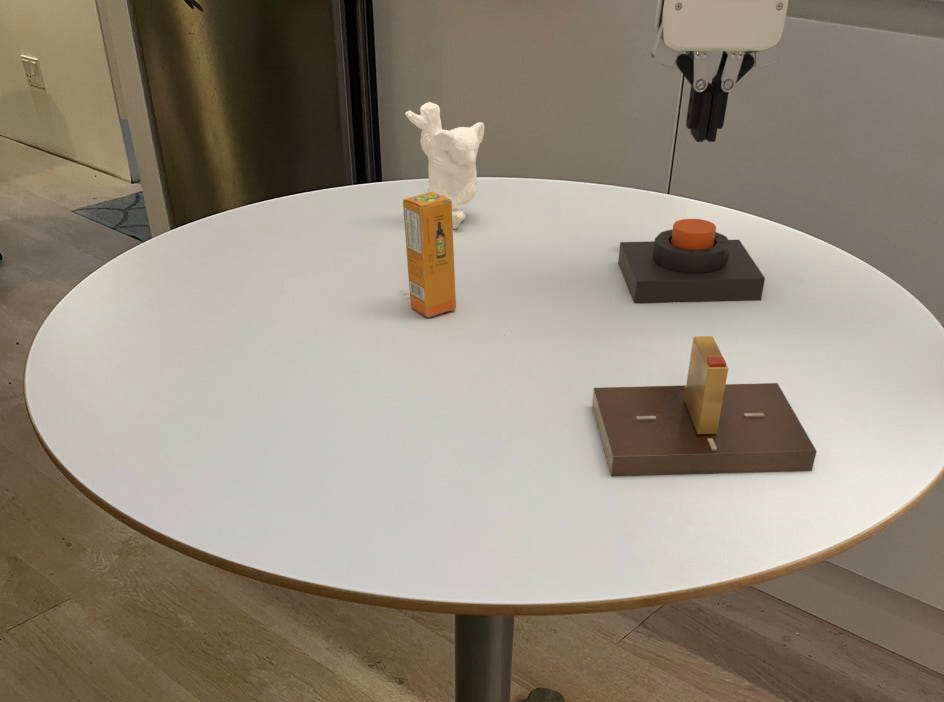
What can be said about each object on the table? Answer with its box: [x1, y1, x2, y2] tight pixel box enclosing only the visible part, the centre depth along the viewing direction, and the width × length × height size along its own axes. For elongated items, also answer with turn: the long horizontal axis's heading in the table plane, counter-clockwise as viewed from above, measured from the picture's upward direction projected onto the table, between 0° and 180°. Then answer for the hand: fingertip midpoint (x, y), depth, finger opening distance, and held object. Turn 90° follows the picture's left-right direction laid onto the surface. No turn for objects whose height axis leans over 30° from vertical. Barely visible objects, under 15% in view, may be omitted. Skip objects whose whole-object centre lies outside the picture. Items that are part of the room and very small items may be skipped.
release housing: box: [617, 228, 766, 305], centre depth 97 cm, size 12×10×4 cm
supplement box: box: [402, 192, 457, 318], centre depth 91 cm, size 3×3×10 cm
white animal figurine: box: [404, 101, 485, 230], centre depth 108 cm, size 8×7×12 cm
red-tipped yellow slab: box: [684, 335, 729, 434], centre depth 71 cm, size 5×1×5 cm, turn 1°
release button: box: [671, 218, 717, 250], centre depth 96 cm, size 4×4×2 cm
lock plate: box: [591, 382, 818, 478], centre depth 74 cm, size 14×10×3 cm
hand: (702, 137), depth 90 cm, fingers closed
